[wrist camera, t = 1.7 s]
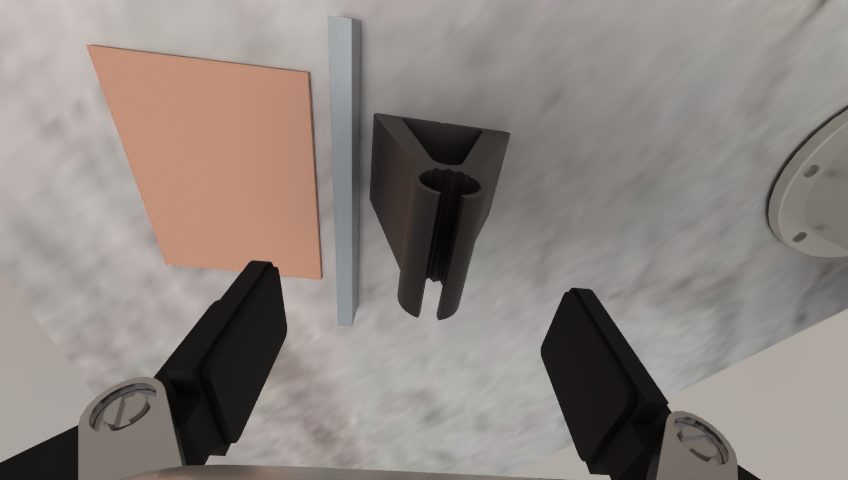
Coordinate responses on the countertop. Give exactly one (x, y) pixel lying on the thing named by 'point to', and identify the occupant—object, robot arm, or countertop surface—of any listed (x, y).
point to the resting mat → (218, 157)
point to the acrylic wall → (345, 157)
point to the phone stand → (433, 200)
